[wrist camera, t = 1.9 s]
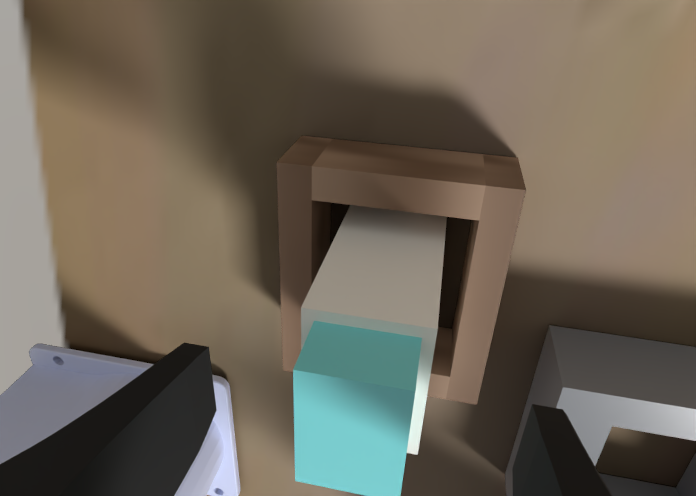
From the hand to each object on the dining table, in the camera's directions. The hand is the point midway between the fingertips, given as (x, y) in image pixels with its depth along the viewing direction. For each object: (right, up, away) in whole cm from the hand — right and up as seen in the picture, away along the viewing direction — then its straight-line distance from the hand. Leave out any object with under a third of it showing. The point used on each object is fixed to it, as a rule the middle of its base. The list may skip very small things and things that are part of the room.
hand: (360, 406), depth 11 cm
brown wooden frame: (+1, +3, +6) cm, 7 cm away
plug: (+1, +3, +6) cm, 7 cm away
